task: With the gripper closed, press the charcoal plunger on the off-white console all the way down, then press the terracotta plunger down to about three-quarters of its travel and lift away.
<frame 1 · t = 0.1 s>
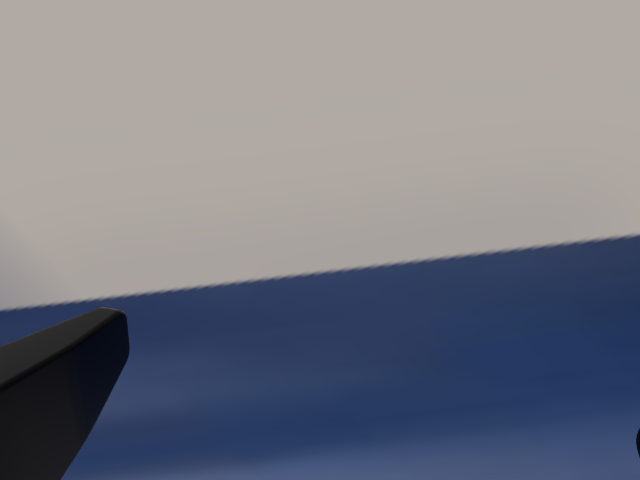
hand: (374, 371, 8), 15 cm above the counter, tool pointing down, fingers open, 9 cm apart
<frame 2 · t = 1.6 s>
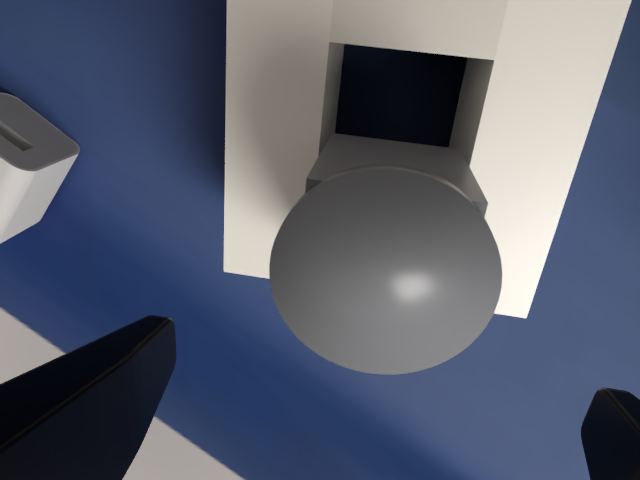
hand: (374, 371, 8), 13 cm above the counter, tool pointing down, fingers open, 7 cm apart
charcoal plunger: (383, 234, 13), point 7 cm above the counter, slide at 0.0 cm
usb wall charger: (22, 175, 23), on the counter
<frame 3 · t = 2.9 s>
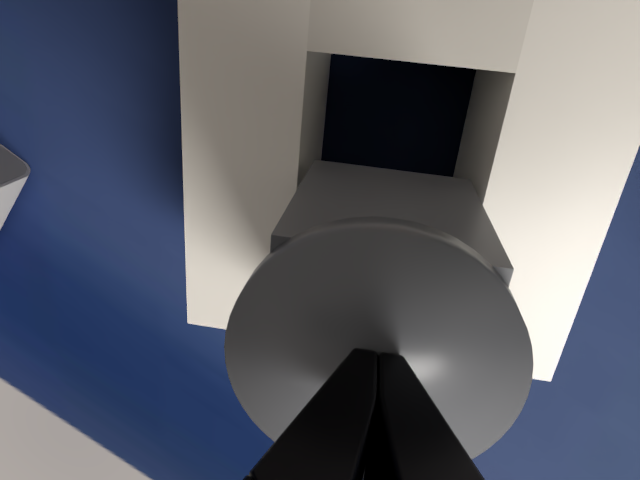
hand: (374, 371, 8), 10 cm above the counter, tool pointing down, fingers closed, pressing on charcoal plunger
charcoal plunger: (376, 290, 11), point 7 cm above the counter, slide at 0.2 cm, touching gripper
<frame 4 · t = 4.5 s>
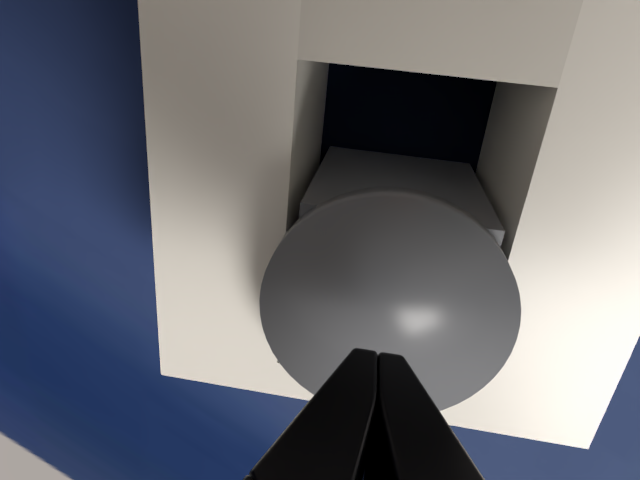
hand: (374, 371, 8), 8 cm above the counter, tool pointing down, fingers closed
charcoal plunger: (387, 258, 12), point 3 cm above the counter, slide at 4.1 cm
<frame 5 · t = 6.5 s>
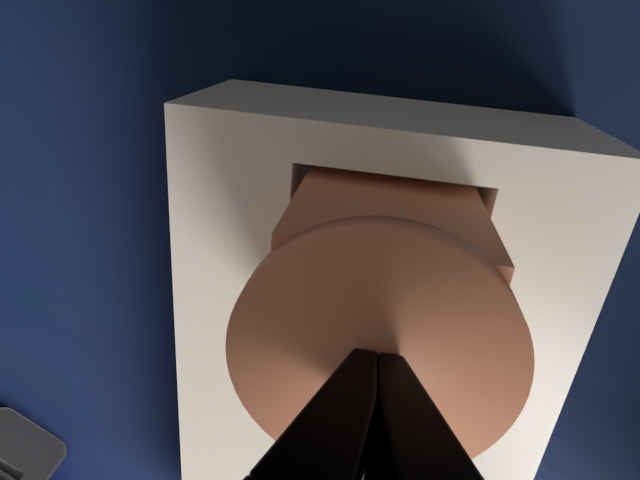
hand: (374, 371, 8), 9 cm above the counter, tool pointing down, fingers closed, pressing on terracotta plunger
console: (357, 363, 19), on the counter
terracotta plunger: (377, 289, 11), point 6 cm above the counter, slide at 1.1 cm, touching gripper
usb wall charger: (14, 456, 25), on the counter
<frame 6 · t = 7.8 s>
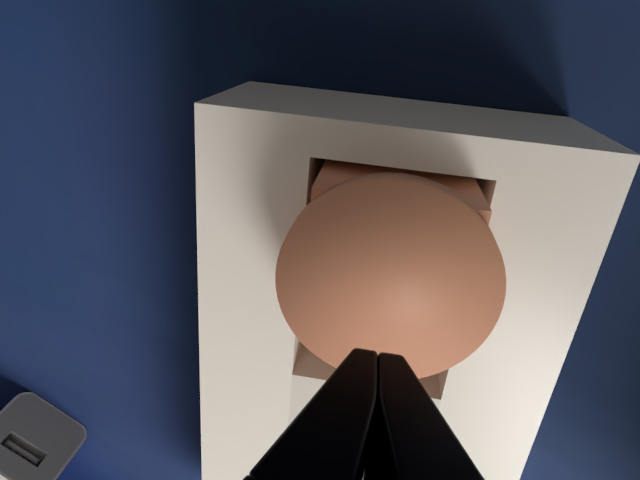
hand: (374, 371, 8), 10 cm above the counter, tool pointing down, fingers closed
console: (365, 349, 20), on the counter
terracotta plunger: (388, 241, 13), point 4 cm above the counter, slide at 2.9 cm
usb wall charger: (35, 440, 26), on the counter
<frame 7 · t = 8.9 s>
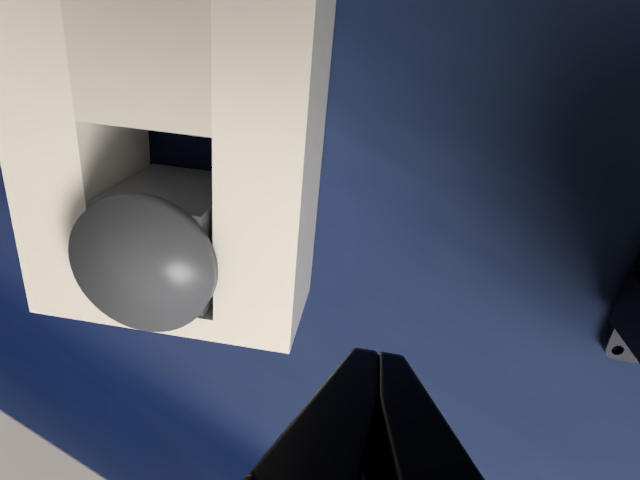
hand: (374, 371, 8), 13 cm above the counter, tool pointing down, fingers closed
charcoal plunger: (172, 237, 19), point 3 cm above the counter, slide at 4.1 cm
console: (198, 44, 19), on the counter
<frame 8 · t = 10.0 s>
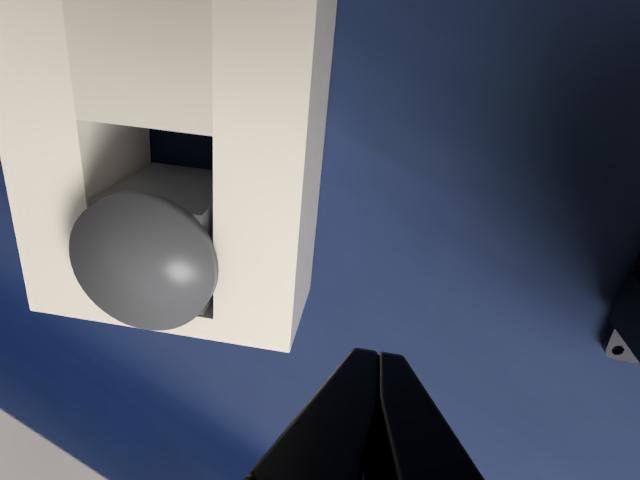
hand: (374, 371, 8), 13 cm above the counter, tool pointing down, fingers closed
charcoal plunger: (173, 235, 19), point 3 cm above the counter, slide at 4.1 cm
console: (199, 43, 19), on the counter
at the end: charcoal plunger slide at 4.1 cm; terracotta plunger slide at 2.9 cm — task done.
